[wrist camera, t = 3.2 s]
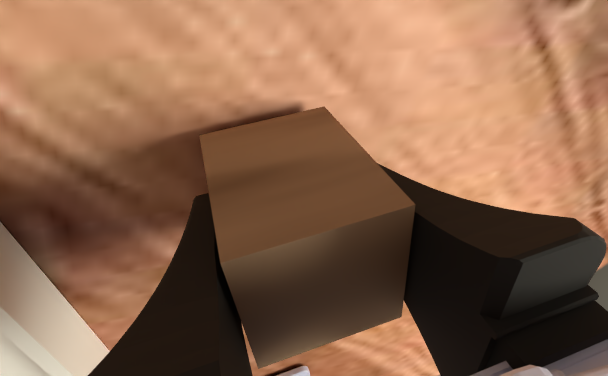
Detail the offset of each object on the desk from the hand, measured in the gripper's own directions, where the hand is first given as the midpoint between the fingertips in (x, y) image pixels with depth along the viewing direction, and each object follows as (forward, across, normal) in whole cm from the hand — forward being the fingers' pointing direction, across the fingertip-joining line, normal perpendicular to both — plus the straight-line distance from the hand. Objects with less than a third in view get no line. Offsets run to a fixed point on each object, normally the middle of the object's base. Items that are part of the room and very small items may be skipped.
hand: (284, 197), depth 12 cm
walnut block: (+2, 0, 0) cm, 2 cm away
